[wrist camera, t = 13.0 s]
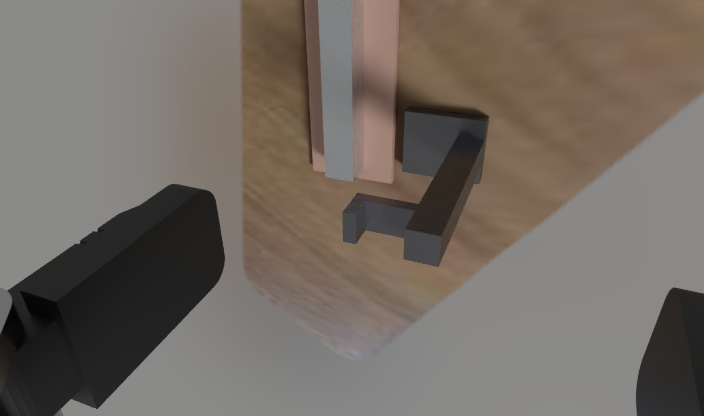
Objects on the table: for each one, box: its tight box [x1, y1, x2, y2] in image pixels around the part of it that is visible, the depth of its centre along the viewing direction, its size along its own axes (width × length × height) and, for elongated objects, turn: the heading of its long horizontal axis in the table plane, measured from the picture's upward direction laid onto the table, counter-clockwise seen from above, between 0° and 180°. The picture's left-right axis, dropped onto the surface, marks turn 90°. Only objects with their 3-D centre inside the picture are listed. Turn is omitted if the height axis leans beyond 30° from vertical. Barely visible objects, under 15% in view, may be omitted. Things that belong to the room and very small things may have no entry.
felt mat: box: [304, 0, 399, 184], centre depth 38 cm, size 26×7×1 cm, turn 1°
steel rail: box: [318, 0, 364, 182], centre depth 37 cm, size 24×2×2 cm, turn 1°
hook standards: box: [342, 107, 489, 267], centre depth 31 cm, size 23×6×14 cm, turn 1°
